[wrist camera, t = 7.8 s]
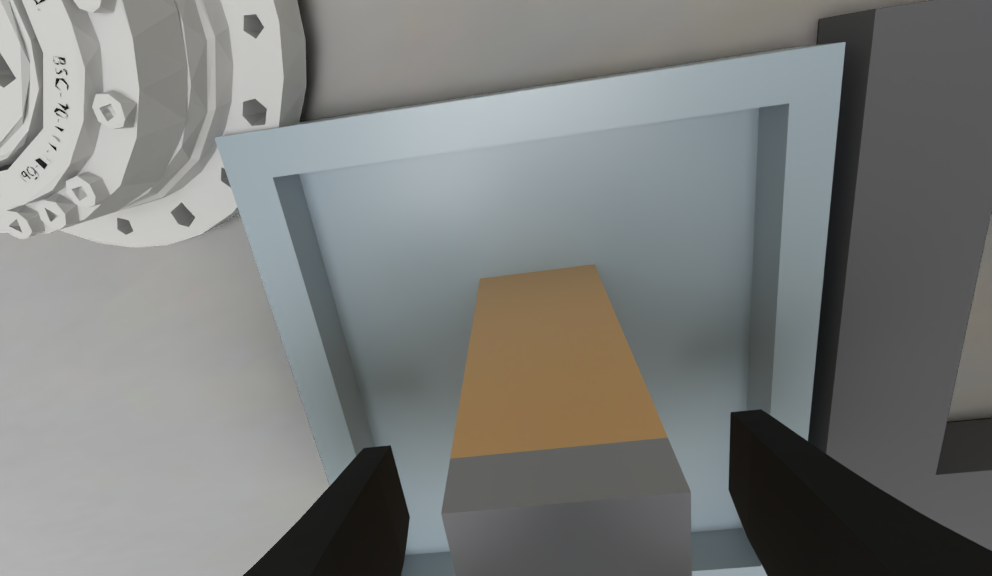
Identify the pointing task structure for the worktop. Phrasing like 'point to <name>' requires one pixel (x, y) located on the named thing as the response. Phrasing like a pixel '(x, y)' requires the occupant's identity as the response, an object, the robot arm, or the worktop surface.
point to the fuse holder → (907, 256)
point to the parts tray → (555, 257)
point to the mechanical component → (136, 111)
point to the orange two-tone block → (560, 441)
